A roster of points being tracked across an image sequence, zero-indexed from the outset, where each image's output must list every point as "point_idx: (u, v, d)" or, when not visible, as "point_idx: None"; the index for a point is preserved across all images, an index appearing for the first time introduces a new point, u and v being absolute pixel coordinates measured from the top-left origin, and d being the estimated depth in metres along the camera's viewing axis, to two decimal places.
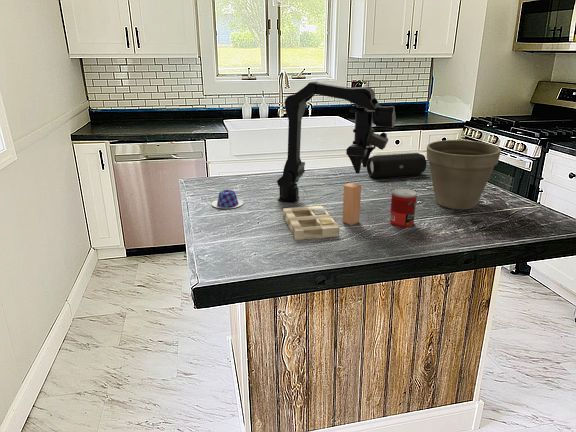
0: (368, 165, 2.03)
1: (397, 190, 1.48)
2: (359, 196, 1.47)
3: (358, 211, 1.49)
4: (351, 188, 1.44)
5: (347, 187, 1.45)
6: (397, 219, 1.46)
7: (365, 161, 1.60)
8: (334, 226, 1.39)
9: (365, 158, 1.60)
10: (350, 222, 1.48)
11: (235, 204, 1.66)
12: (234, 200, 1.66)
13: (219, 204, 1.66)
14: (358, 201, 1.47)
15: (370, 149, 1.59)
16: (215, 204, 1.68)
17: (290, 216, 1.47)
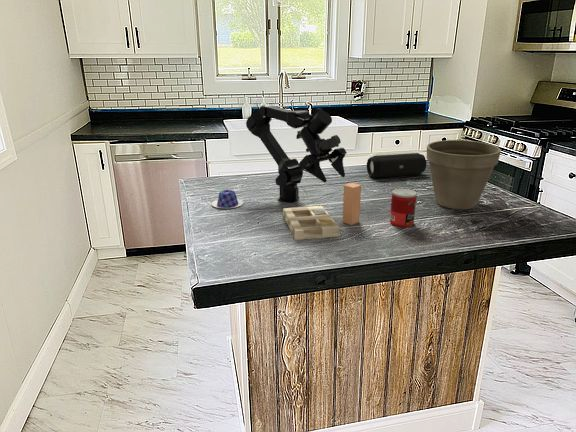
0: (368, 165, 2.03)
1: (397, 190, 1.48)
2: (359, 196, 1.47)
3: (358, 211, 1.49)
4: (351, 188, 1.44)
5: (347, 187, 1.45)
6: (397, 219, 1.46)
7: (341, 171, 1.55)
8: (334, 226, 1.39)
9: (339, 168, 1.55)
10: (350, 222, 1.48)
11: (235, 204, 1.66)
12: (234, 200, 1.66)
13: (219, 204, 1.66)
14: (358, 201, 1.47)
15: (338, 158, 1.55)
16: (215, 204, 1.68)
17: (290, 216, 1.47)
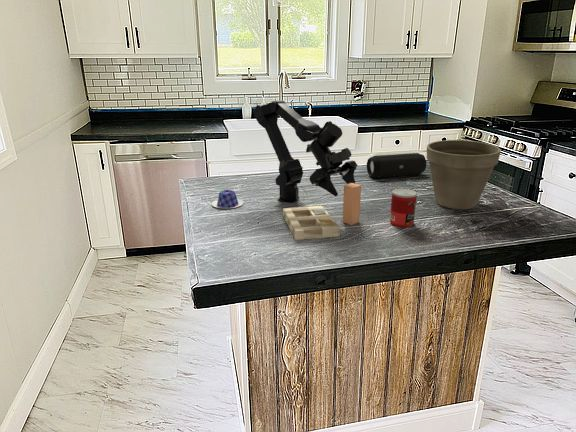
0: (368, 165, 2.03)
1: (397, 190, 1.48)
2: (359, 196, 1.47)
3: (358, 211, 1.49)
4: (351, 188, 1.44)
5: (347, 187, 1.45)
6: (397, 219, 1.46)
7: None
8: (334, 226, 1.39)
9: (350, 182, 1.53)
10: (350, 222, 1.48)
11: (235, 204, 1.66)
12: (234, 200, 1.66)
13: (219, 204, 1.66)
14: (358, 201, 1.47)
15: (349, 171, 1.53)
16: (215, 204, 1.68)
17: (290, 216, 1.47)
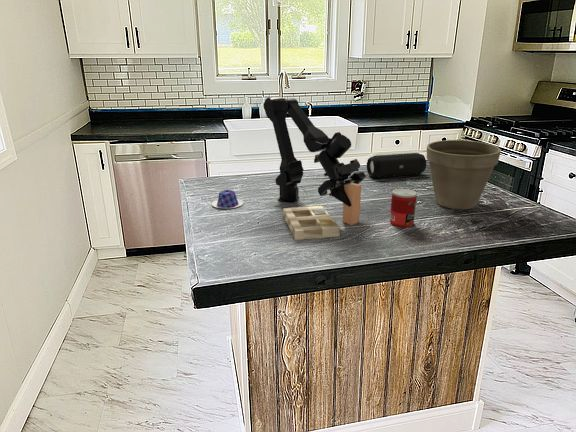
0: (368, 165, 2.03)
1: (397, 190, 1.48)
2: (359, 196, 1.47)
3: (358, 211, 1.49)
4: (351, 188, 1.44)
5: (347, 187, 1.45)
6: (397, 219, 1.46)
7: None
8: (334, 226, 1.39)
9: None
10: (350, 222, 1.48)
11: (234, 204, 1.66)
12: (233, 200, 1.66)
13: (218, 204, 1.66)
14: (358, 201, 1.47)
15: None
16: (215, 204, 1.68)
17: (290, 216, 1.47)
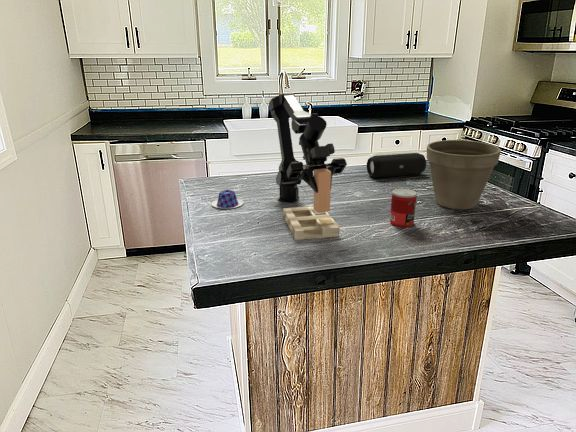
0: (368, 165, 2.02)
1: (397, 190, 1.48)
2: (328, 183, 1.37)
3: (328, 199, 1.39)
4: (318, 173, 1.36)
5: (315, 172, 1.37)
6: (397, 219, 1.46)
7: None
8: (334, 226, 1.39)
9: None
10: (317, 210, 1.40)
11: (234, 204, 1.66)
12: (233, 200, 1.65)
13: (218, 204, 1.66)
14: (327, 188, 1.38)
15: None
16: (215, 203, 1.69)
17: (290, 216, 1.47)
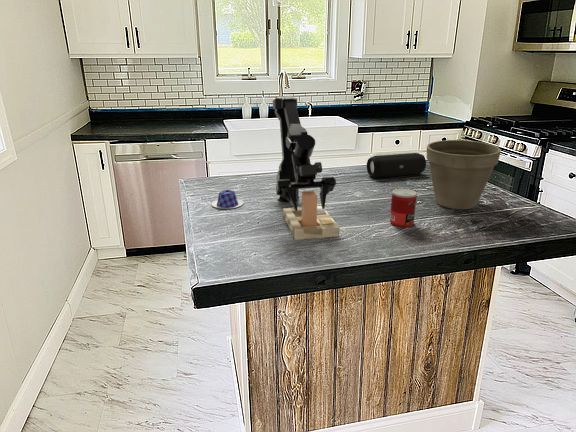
0: (368, 165, 2.02)
1: (397, 190, 1.48)
2: (315, 206, 1.38)
3: (314, 222, 1.40)
4: (304, 196, 1.37)
5: (302, 194, 1.39)
6: (397, 219, 1.46)
7: (322, 202, 1.40)
8: (334, 226, 1.39)
9: (321, 199, 1.41)
10: None
11: (233, 205, 1.66)
12: (232, 201, 1.65)
13: (218, 204, 1.67)
14: (313, 211, 1.39)
15: (322, 187, 1.41)
16: (215, 203, 1.69)
17: (290, 216, 1.47)
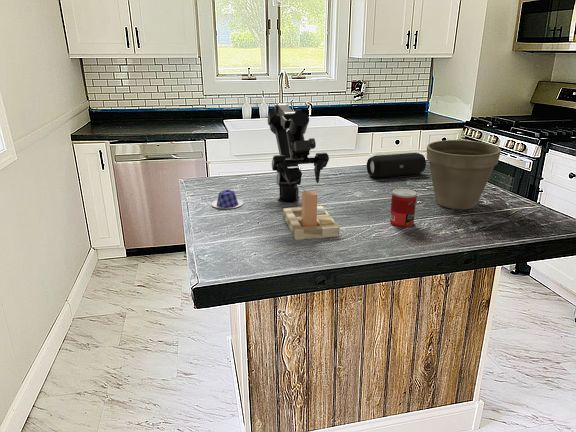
0: (368, 165, 2.02)
1: (397, 190, 1.48)
2: (315, 206, 1.38)
3: (314, 222, 1.40)
4: (304, 196, 1.37)
5: (302, 194, 1.39)
6: (397, 219, 1.46)
7: (316, 176, 1.47)
8: (334, 226, 1.39)
9: (316, 174, 1.48)
10: None
11: (233, 205, 1.65)
12: (232, 201, 1.65)
13: (218, 203, 1.67)
14: (313, 211, 1.39)
15: (316, 163, 1.48)
16: (215, 203, 1.69)
17: (290, 216, 1.47)
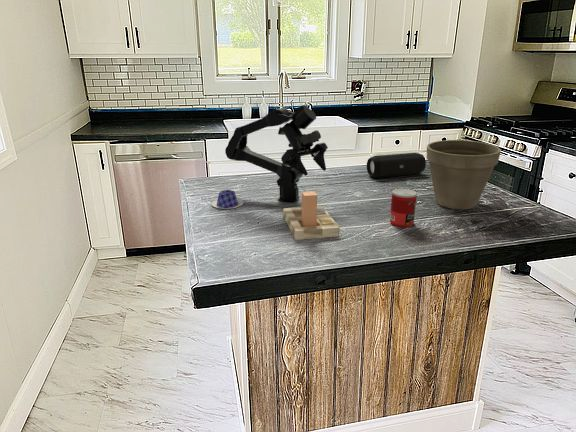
0: (368, 165, 2.02)
1: (397, 190, 1.48)
2: (315, 206, 1.38)
3: (314, 222, 1.40)
4: (304, 196, 1.37)
5: (302, 194, 1.39)
6: (397, 219, 1.46)
7: (322, 165, 1.62)
8: (334, 226, 1.39)
9: (321, 162, 1.62)
10: None
11: (232, 205, 1.65)
12: (231, 201, 1.65)
13: (218, 203, 1.67)
14: (313, 211, 1.39)
15: (319, 152, 1.62)
16: (216, 203, 1.69)
17: (290, 216, 1.47)
